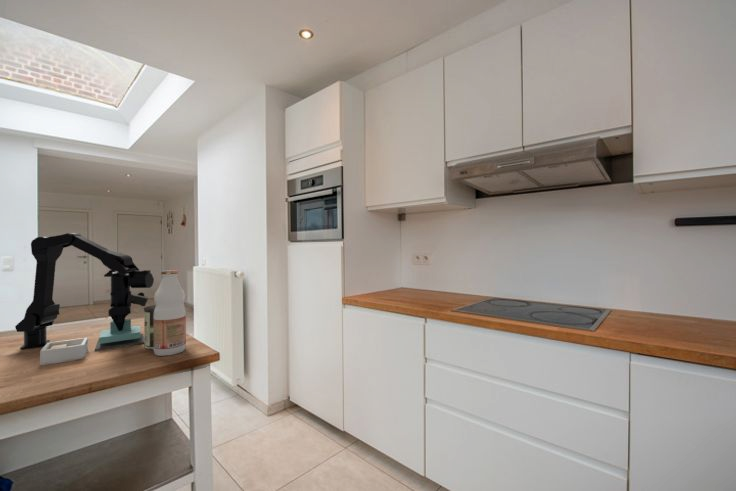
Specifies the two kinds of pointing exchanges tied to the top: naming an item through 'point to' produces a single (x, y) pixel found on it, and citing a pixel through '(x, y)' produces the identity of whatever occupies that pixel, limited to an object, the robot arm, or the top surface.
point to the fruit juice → (169, 316)
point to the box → (64, 351)
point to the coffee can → (149, 327)
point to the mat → (119, 343)
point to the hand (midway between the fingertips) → (120, 329)
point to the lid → (119, 333)
